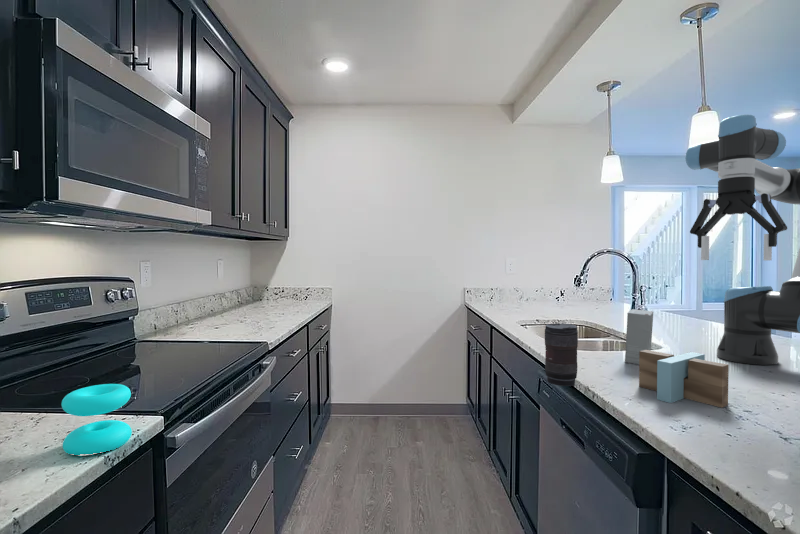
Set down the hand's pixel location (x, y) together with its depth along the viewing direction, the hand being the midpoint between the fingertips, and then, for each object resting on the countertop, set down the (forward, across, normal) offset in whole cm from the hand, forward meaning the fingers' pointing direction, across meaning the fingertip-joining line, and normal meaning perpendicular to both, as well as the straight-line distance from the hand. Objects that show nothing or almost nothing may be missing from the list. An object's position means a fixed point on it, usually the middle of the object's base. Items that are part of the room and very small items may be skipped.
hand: (734, 260), depth 112 cm
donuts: (+32, -44, -138) cm, 148 cm away
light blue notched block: (+32, -2, -23) cm, 39 cm away
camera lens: (+32, -24, -38) cm, 55 cm away
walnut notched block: (+32, -2, -23) cm, 39 cm away
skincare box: (+32, -25, +1) cm, 41 cm away
